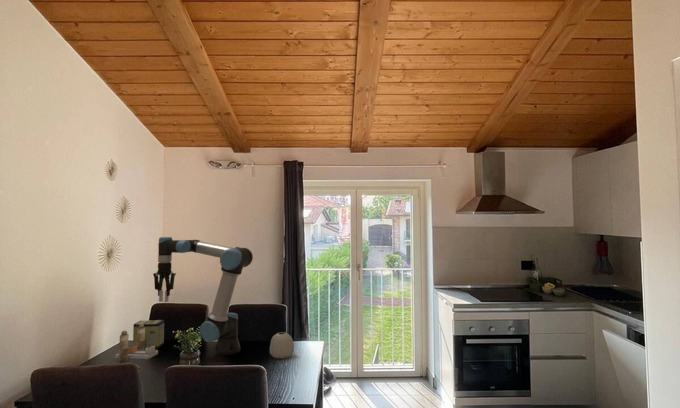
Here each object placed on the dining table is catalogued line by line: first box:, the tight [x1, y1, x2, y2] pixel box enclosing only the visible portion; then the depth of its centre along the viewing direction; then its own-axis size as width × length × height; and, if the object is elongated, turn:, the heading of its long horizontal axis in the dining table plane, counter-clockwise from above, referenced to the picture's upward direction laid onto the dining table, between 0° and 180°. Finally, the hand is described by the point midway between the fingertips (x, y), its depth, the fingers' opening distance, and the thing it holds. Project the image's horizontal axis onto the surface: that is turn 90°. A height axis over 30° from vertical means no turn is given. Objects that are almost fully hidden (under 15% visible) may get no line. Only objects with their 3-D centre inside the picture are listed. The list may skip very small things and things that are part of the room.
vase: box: [269, 331, 295, 360], centre depth 224 cm, size 14×14×13 cm
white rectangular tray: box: [114, 349, 159, 360], centre depth 226 cm, size 20×10×3 cm, turn 85°
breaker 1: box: [128, 343, 138, 353], centre depth 227 cm, size 3×5×4 cm, turn 175°
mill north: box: [118, 330, 130, 363], centre depth 219 cm, size 4×4×16 cm
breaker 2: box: [145, 345, 156, 353], centre depth 226 cm, size 3×5×4 cm, turn 175°
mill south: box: [137, 324, 145, 350], centre depth 235 cm, size 4×4×16 cm
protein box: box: [132, 319, 165, 350], centre depth 245 cm, size 10×16×16 cm
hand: (163, 301), depth 233 cm, fingers open, 3 cm apart
